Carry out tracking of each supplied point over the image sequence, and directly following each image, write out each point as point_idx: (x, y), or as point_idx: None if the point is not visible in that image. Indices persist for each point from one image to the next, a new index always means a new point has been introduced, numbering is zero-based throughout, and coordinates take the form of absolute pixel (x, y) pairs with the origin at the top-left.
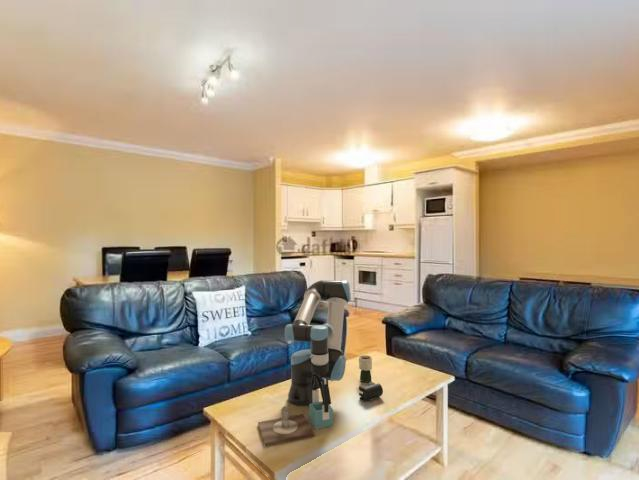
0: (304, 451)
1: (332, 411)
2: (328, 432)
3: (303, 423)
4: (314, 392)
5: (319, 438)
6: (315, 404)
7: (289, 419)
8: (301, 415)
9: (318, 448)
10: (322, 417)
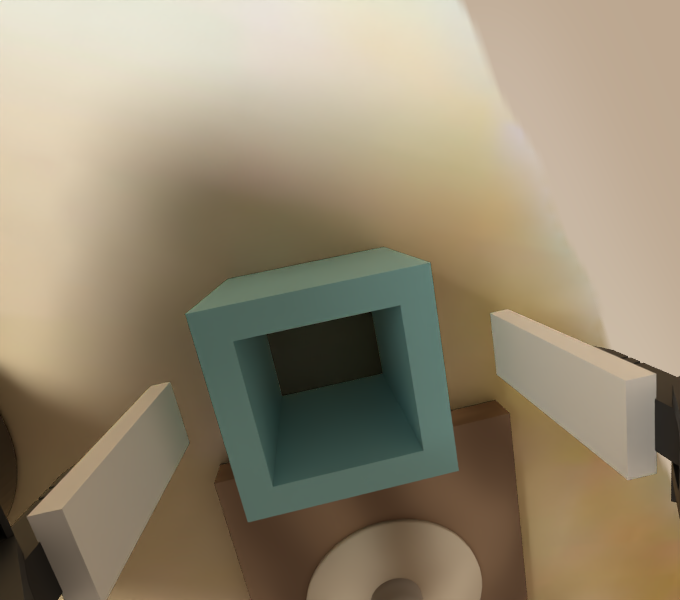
0: None
1: (419, 260)
2: (473, 296)
3: None
4: (109, 551)
5: None
6: (264, 450)
7: (294, 576)
8: None
9: None
10: (508, 381)
